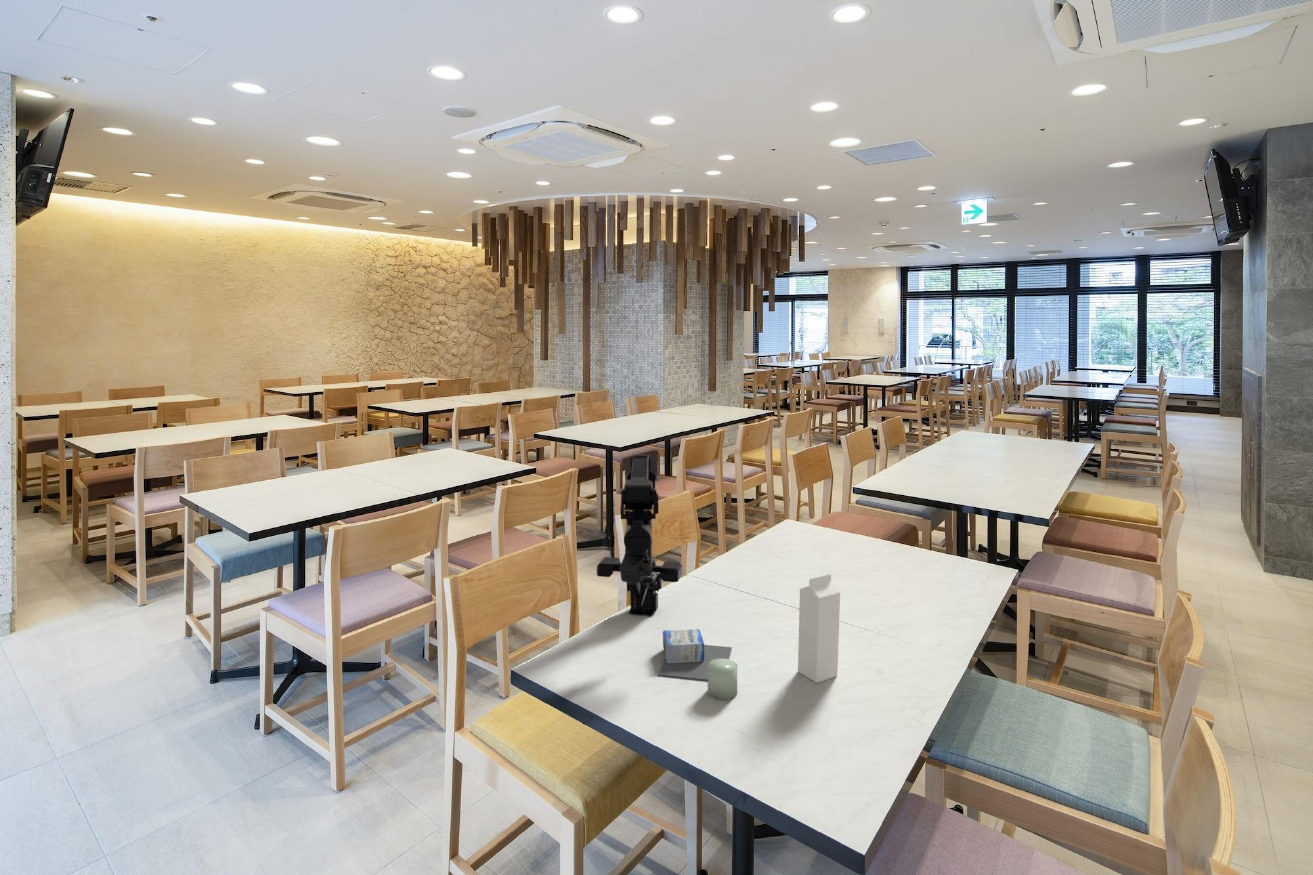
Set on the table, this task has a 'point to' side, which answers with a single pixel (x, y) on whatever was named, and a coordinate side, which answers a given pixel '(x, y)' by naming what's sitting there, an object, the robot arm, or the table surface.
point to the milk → (819, 629)
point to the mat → (695, 664)
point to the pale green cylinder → (722, 679)
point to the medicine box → (683, 646)
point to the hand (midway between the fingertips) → (640, 605)
